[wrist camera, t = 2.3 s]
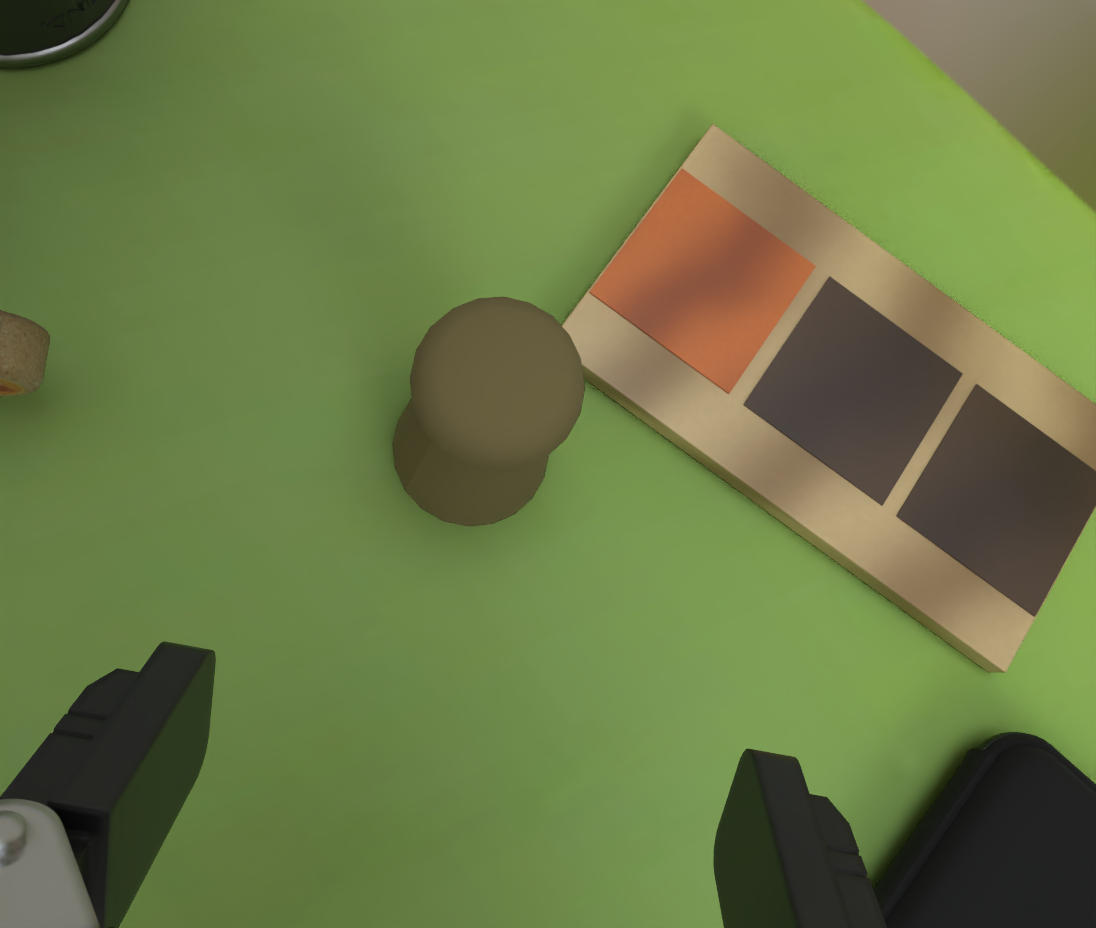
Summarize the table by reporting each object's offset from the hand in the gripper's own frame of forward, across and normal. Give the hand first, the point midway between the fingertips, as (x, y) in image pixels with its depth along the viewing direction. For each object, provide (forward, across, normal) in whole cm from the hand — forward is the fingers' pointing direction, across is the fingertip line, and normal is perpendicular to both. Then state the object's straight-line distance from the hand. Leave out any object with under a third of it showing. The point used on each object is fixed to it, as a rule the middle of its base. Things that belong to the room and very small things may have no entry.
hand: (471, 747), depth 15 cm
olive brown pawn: (+24, +2, +5) cm, 25 cm away
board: (+28, -13, +1) cm, 31 cm away
